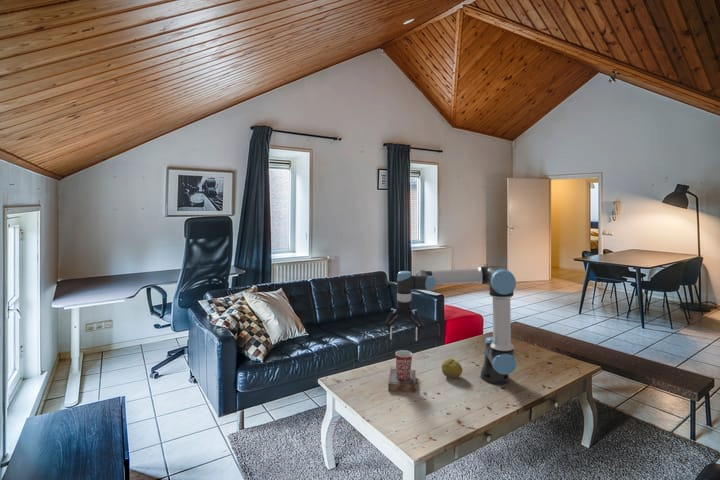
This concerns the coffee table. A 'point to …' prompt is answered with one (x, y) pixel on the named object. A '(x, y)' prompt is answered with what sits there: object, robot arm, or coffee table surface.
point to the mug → (403, 364)
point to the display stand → (402, 382)
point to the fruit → (451, 368)
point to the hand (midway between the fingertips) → (403, 339)
